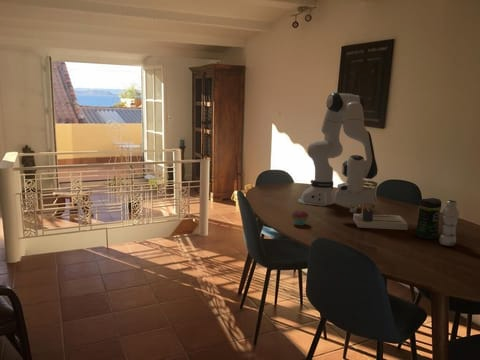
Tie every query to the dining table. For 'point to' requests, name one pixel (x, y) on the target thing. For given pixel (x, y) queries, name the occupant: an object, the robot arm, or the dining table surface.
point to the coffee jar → (428, 218)
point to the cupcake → (300, 217)
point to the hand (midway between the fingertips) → (353, 212)
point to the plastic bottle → (449, 224)
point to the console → (381, 222)
